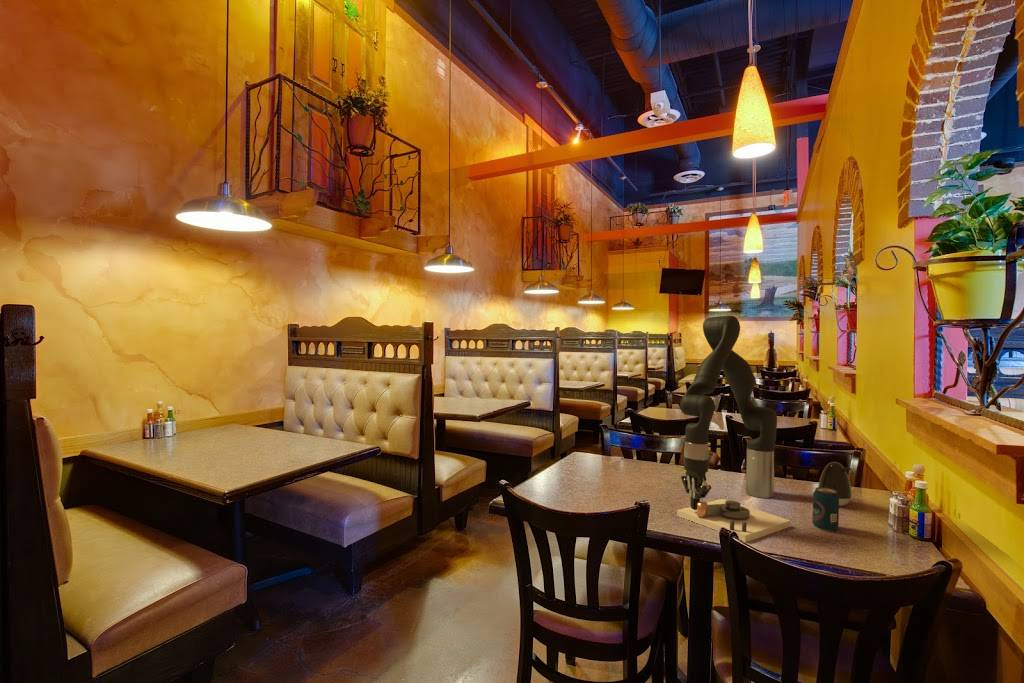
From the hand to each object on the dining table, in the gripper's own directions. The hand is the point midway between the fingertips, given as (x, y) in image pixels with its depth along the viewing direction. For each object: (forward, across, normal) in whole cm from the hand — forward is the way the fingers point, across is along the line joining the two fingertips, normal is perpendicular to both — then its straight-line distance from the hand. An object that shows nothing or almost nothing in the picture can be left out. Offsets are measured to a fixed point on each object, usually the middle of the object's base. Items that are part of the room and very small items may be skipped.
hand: (694, 508), depth 160 cm
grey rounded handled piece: (+1, +5, +7) cm, 8 cm away
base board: (+3, +5, +10) cm, 12 cm away
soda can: (+3, +16, +36) cm, 39 cm away
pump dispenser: (+3, -1, +60) cm, 60 cm away
